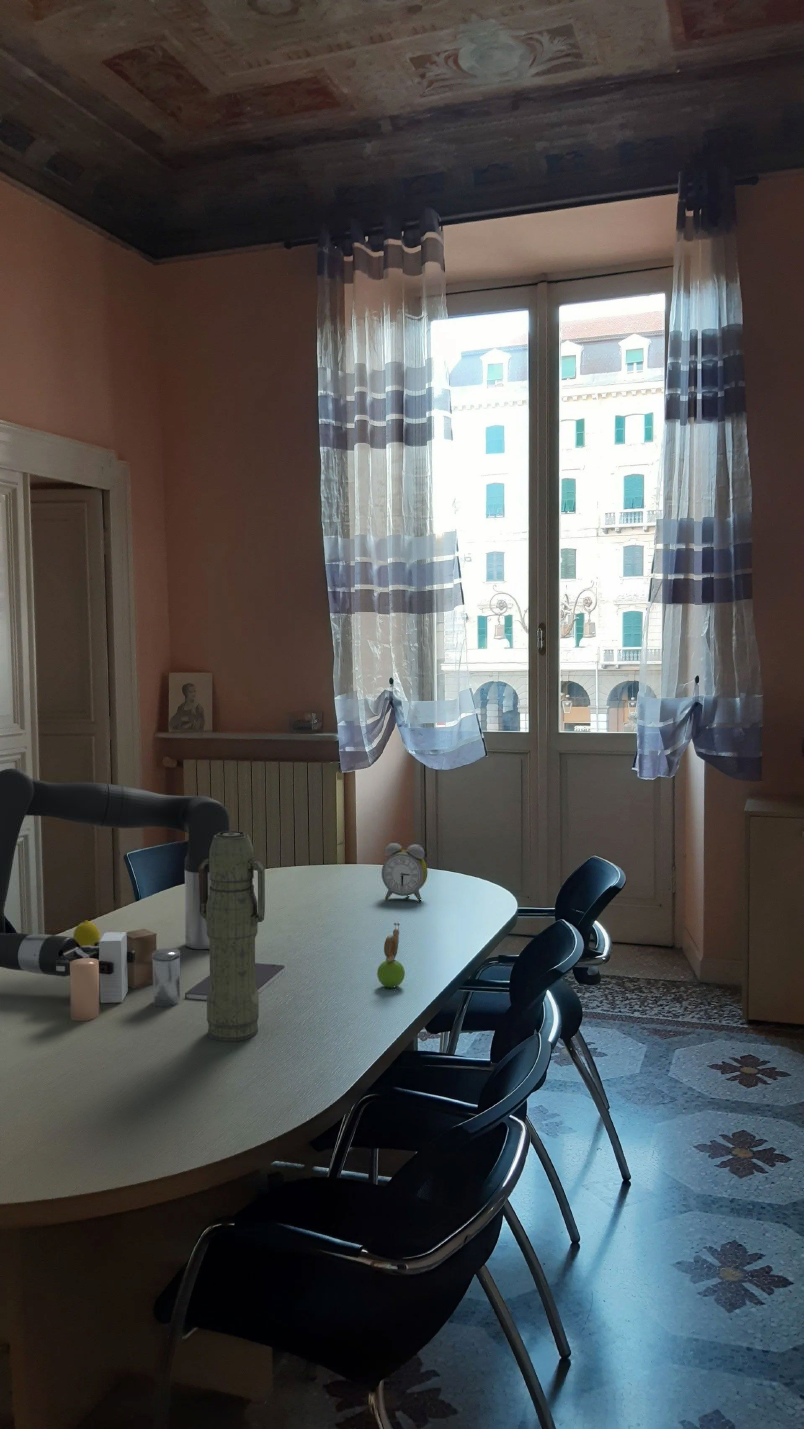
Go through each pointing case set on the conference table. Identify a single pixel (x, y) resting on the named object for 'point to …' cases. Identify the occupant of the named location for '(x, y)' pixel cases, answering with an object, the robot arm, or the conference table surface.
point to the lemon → (86, 934)
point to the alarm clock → (404, 870)
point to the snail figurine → (391, 962)
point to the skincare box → (115, 952)
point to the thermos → (232, 934)
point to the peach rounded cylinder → (84, 989)
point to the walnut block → (141, 957)
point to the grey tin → (166, 977)
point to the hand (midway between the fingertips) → (123, 962)
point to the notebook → (262, 980)
